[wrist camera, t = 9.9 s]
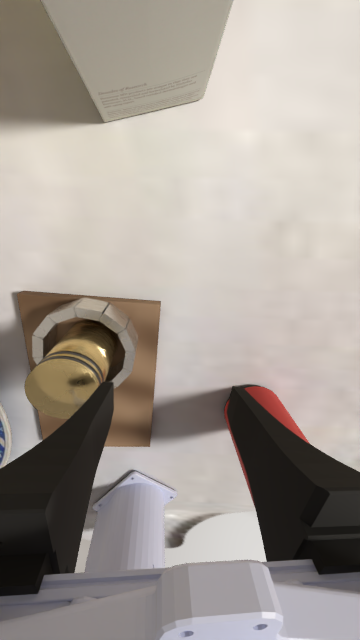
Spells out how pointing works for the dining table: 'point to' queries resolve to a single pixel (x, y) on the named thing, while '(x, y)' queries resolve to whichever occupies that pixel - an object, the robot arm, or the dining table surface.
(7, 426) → the ceramic plate
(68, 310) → the ring collar
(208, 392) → the dining table surface
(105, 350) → the piston
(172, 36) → the supplement box
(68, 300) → the walnut board
